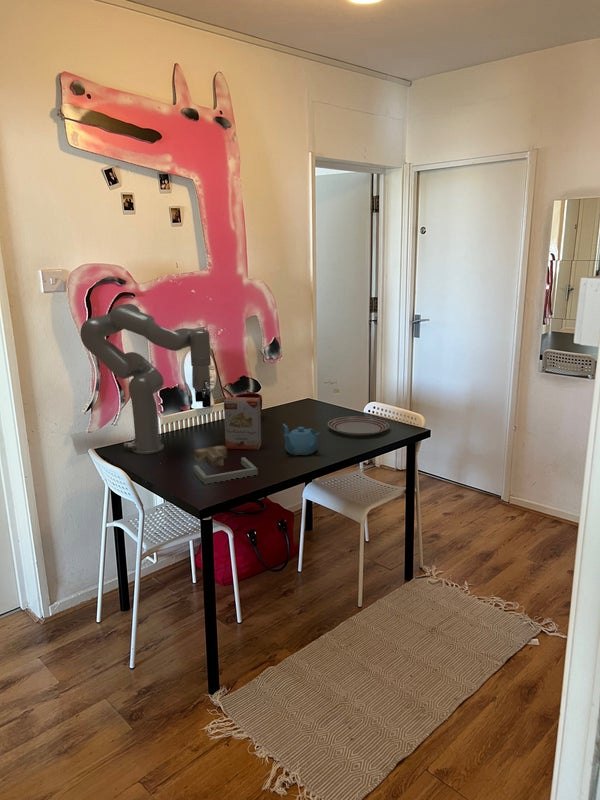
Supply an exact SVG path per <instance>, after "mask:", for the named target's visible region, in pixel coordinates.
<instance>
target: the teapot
mask: <svg viewBox="0 0 600 800" xmlns="http://www.w3.org/2000/svg"><path fill="white" fill-rule="evenodd" d="M282 426H283V428H284V434H283V437H284V441H285V442H284V450H285V451H286V452H287V453H289V454H290V455H292V456H297V455H305V456H309V454H310V455H312V454H314V453H315V452H316V451H317V449H318V445H319V435H320V434H321V432H315V430H314V429H313V428H305V427H304V426H298V427H297V428H295V429H292V430H291V431H290V429H289V427H288V425H286V424H285V423H282Z"/></svg>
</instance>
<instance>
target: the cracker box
mask: <svg viewBox="0 0 600 800" xmlns="http://www.w3.org/2000/svg"><path fill="white" fill-rule="evenodd" d="M223 412H224V414H223V417H224V437H225V447H226V448H227V450H231V449H232V450H251V451H252V450H253V451H254V450H255V451H256V450H257V451H259V450H260V448H261V446H262V423H261V422H262V421H261V420H262V417H260V414H261V413H260V398H244V397H235V396H227V397H226V398H225V399H224V400H223Z"/></svg>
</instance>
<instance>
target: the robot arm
mask: <svg viewBox="0 0 600 800" xmlns="http://www.w3.org/2000/svg"><path fill="white" fill-rule="evenodd" d="M123 330H126V331H129V332H132V333H135V334H137V335H140V336H142V337H144V338H145V339H146V340H147V341H149V342H151V344H154V345H155V346H158V347H161V348H163V349H165V350H168V351H169V350H170V351H173V352H176V351H177V352H178V351H181V350H182V349H185V348H188V347H189V349H190V363H191V366H192V368H191V369H192V370H191V371H192V372H191V373H192V374H191V377H192V378H191V381H192V383H191V385H192V388H193V389H194V397H195V400H194V401H195V402H196V403H199V402H201V403H202V408H210V407H212V403H211V402H212V401H211V386H212V385H211V373H210V372H211V371H210V366H211V365H212V362H211V361H212V360H211V343H210V342H211V341H210V338H211V337H210V332H209V331H208V329H204V328H202V329H192V328H188V327H187V328H185V327H183V328H182V327H180V328H178V329H175V330H171V329H168V328H165V327H163V326H161V325H159V324H157V323H156V322H155V318H154V316H152V315H149V314H147V313H144V312H141V310H140V308H138V307H137V306H136V305H135V304H133V303H124V304H119V305H116V306H114V307H113V308H112V309H111V310H110V312H108V313H106V314H104V315H99V316H93V317H90V318H88V319H86V320H85V321H84V322H83V323H82V325H81V328H80V339H81V341H82V345H83V346H84V347H85V348H86V350H88V351H89V352H90V354H92V355H93V356H94V357H95V358H97V359H98V360H99V361H100V362H101V363H102V364H103V365H104V366H105V367H106V368H107V369H108V370H109V371H110V372H111V373H112V374H113V375H114V376H116V377H117V378H119V379H121V380H124V379H125V380H126V379H129V378H131V377H133V378H131V379H130V381H129V383H128V393H129V398H130V401H131V406H132V407H131V408H132V417H133V427H134V428H133V430H134V438H133V440H131V441H129V442H128V441H126V442H123V448H128V449H130V448H131V449H132V452H134V453H135V454H140V455H147V454H153V453H154V454H155V453H159V452H161V451H162V450H163V449H164V447H165V446H164V443H161V442H160V433H159V432H160V431H159V430H160V429H159V419H158V408H157V402H156V399H155V396H154V394H156V393H157V392H159V391H161V389H162V388H163V387H164V385H165V383H164V377H163V375H162V373H161V372H160V371H159V370H158V369H157V368H156V367H154V365H153V364H152V363H151V362H149V361H148V360H147V359H146V358H145V357H144V356H143V355H141V354H139V353H137V352H134V351H130V352H126V353H125V352H123V351H122V350H120V348H118V347H117V346H116V345H115V344H114V343H112V342H111V341H109V340H107V339H106V337H108V336H113V335H114V334H117V333H119V332H121V331H123Z"/></svg>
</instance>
